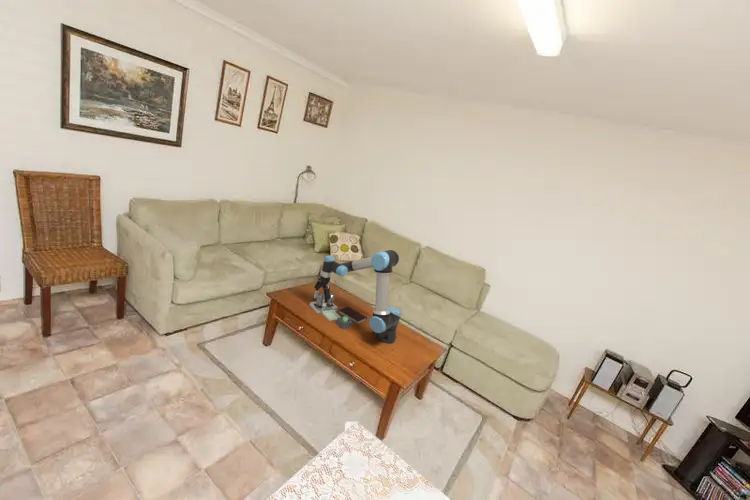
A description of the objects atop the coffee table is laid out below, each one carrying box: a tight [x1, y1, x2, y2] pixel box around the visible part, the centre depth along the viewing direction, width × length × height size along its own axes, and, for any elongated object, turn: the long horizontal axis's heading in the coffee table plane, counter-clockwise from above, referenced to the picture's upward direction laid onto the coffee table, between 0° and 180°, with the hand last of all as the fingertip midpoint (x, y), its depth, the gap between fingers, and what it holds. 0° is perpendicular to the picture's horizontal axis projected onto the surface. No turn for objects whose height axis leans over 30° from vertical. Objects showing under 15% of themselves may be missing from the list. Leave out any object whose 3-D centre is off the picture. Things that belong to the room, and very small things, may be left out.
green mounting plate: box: [321, 310, 341, 322], centre depth 258 cm, size 11×10×2 cm
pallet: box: [309, 301, 339, 314], centre depth 267 cm, size 12×18×3 cm, turn 128°
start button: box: [342, 315, 348, 322], centre depth 249 cm, size 4×4×5 cm
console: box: [335, 316, 354, 330], centre depth 250 cm, size 8×8×5 cm
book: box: [338, 306, 368, 324], centre depth 267 cm, size 12×19×3 cm, turn 57°
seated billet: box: [326, 292, 336, 307], centre depth 269 cm, size 5×5×12 cm
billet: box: [315, 292, 325, 308], centre depth 263 cm, size 5×5×12 cm
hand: (319, 301), depth 263 cm, fingers open, 12 cm apart
